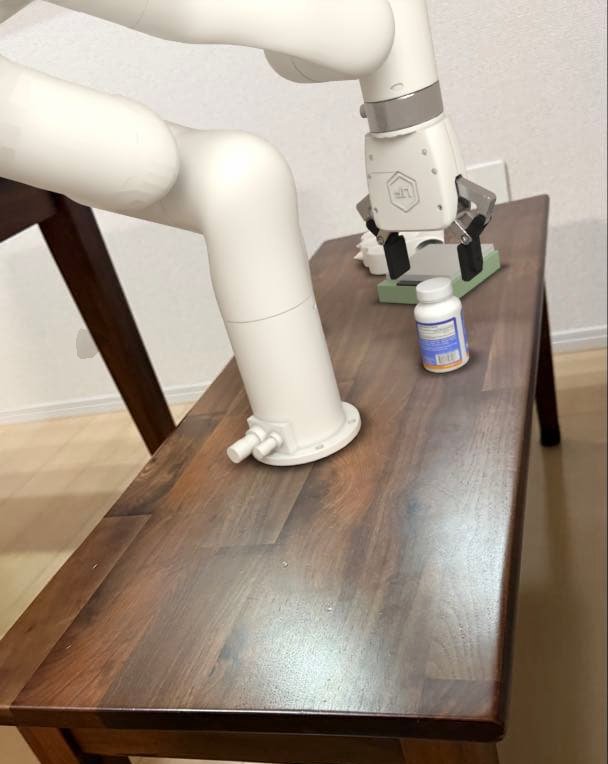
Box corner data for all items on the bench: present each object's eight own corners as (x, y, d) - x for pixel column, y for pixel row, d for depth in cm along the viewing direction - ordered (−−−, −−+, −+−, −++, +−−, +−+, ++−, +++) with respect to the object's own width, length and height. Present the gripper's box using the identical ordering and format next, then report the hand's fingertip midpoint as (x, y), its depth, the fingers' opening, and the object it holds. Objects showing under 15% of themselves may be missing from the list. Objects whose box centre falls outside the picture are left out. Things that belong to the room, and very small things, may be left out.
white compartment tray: (446, 261, 127) (352, 281, 131) (444, 226, 142) (359, 245, 145) (443, 239, 125) (347, 260, 129) (441, 206, 140) (355, 225, 143)
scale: (449, 305, 113) (445, 280, 111) (379, 302, 121) (374, 278, 119) (500, 267, 120) (497, 243, 118) (431, 266, 127) (427, 243, 125)
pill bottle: (439, 351, 102) (425, 273, 97) (478, 354, 99) (466, 274, 93) (415, 372, 99) (399, 293, 94) (454, 376, 96) (440, 294, 90)
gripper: (317, 131, 87) (355, 288, 97) (457, 113, 76) (485, 292, 86) (360, 108, 91) (393, 261, 101) (500, 87, 80) (522, 262, 90)
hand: (435, 275), depth 93 cm, fingers open, 9 cm apart
